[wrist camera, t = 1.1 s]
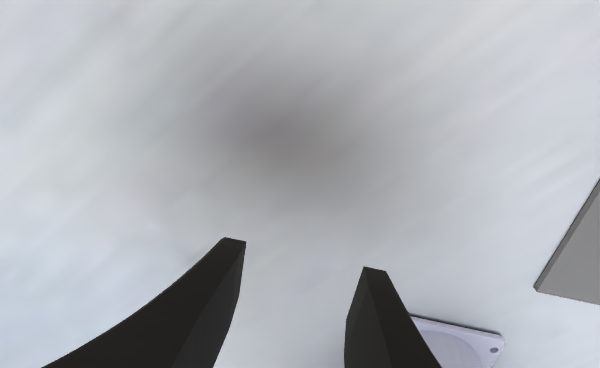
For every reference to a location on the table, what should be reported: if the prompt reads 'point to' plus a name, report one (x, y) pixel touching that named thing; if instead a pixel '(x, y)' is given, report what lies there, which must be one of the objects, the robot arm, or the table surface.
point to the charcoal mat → (577, 258)
